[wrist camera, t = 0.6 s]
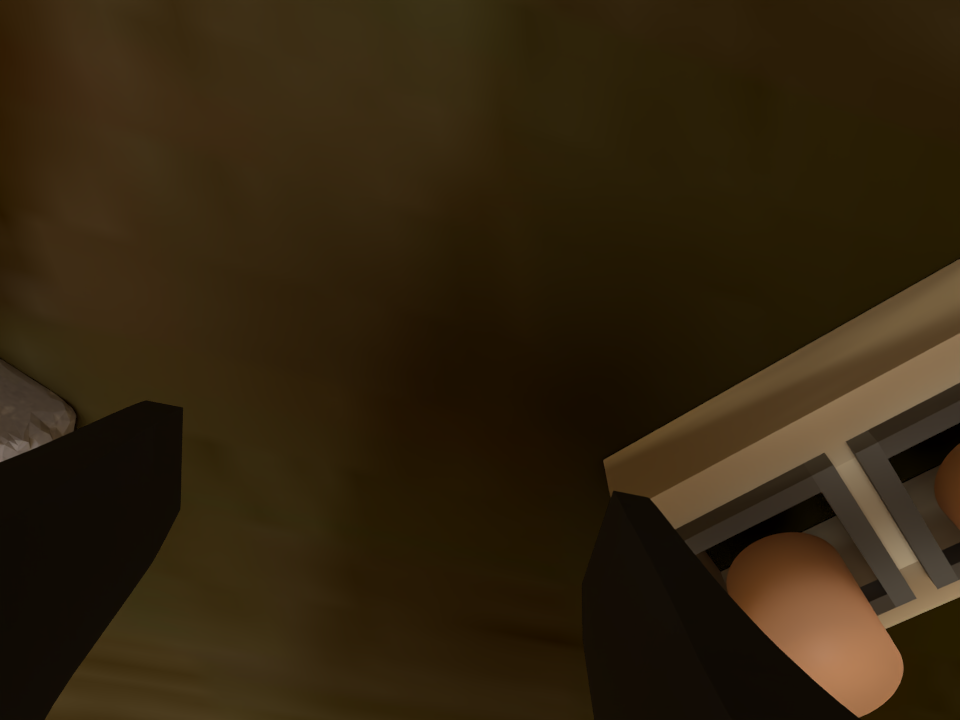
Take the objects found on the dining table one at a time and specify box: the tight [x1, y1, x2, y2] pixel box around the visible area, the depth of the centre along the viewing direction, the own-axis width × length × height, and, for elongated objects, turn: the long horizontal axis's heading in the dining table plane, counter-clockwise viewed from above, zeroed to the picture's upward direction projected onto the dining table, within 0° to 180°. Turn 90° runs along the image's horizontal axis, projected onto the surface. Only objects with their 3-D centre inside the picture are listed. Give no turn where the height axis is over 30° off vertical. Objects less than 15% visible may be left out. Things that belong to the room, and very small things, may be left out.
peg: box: [726, 532, 903, 718], centre depth 19 cm, size 3×3×3 cm
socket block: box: [603, 259, 960, 629], centre depth 21 cm, size 8×12×4 cm, turn 126°
